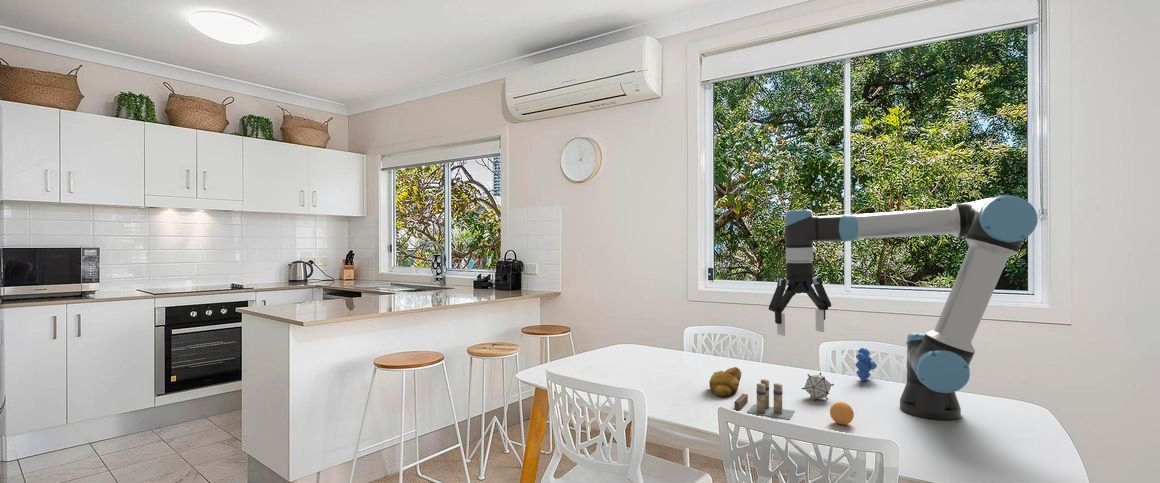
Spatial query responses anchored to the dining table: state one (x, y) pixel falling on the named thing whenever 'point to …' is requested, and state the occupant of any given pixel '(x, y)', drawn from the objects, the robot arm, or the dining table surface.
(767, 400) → the pin
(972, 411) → the dining table surface
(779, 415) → the pin deck
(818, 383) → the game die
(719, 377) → the bread roll
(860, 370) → the grapes
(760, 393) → the pin
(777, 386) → the front pin
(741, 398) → the backstop
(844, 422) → the ball
